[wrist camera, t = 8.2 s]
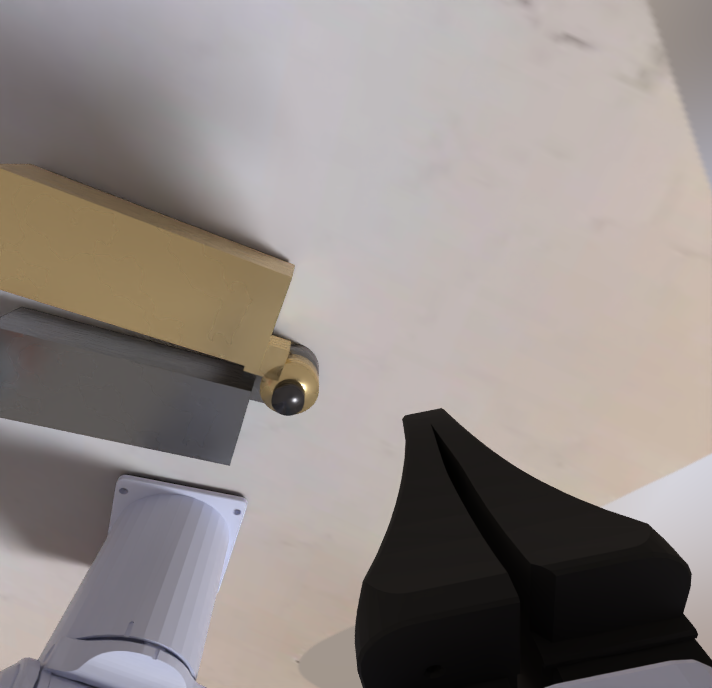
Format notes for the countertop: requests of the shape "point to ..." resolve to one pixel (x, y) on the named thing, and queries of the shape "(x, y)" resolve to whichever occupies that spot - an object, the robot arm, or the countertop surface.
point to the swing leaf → (146, 274)
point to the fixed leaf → (128, 387)
